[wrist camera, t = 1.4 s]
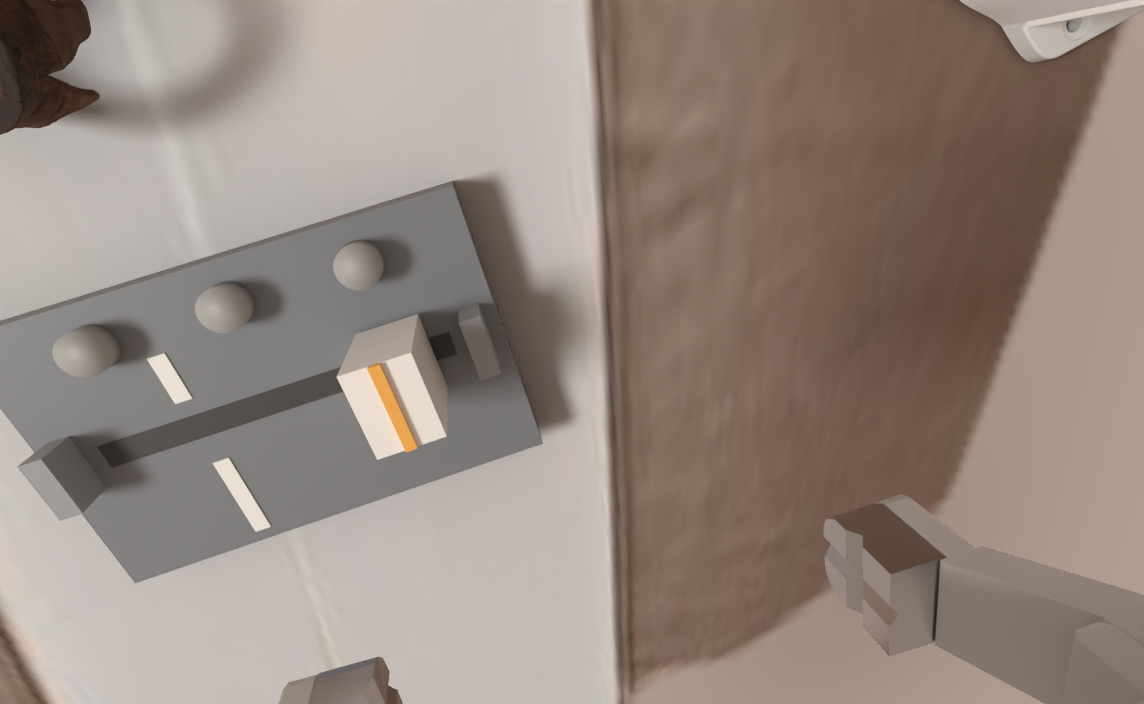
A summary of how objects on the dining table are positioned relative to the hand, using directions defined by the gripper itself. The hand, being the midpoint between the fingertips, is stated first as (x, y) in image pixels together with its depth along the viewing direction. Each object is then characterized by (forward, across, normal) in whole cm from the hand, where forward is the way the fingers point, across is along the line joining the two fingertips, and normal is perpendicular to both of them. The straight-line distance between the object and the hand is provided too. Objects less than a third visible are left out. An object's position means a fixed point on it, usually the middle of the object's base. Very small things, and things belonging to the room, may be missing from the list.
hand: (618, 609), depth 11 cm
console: (+22, +11, +2) cm, 25 cm away
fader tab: (+20, +5, +1) cm, 21 cm away
